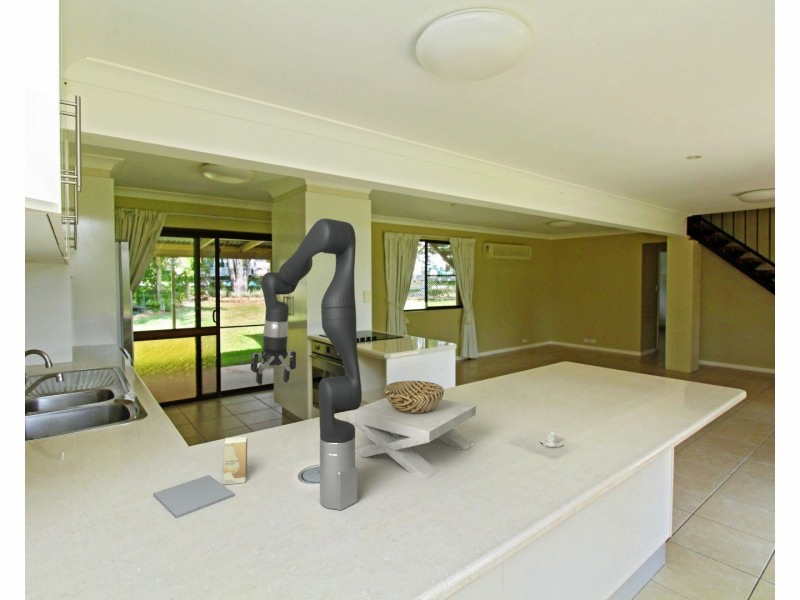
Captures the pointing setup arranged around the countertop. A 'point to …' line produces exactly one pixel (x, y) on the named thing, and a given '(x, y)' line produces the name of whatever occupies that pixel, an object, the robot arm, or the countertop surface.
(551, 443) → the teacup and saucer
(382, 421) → the wicker basket on stand
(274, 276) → the robot arm
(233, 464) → the skincare box
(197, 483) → the mat
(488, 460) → the countertop surface
